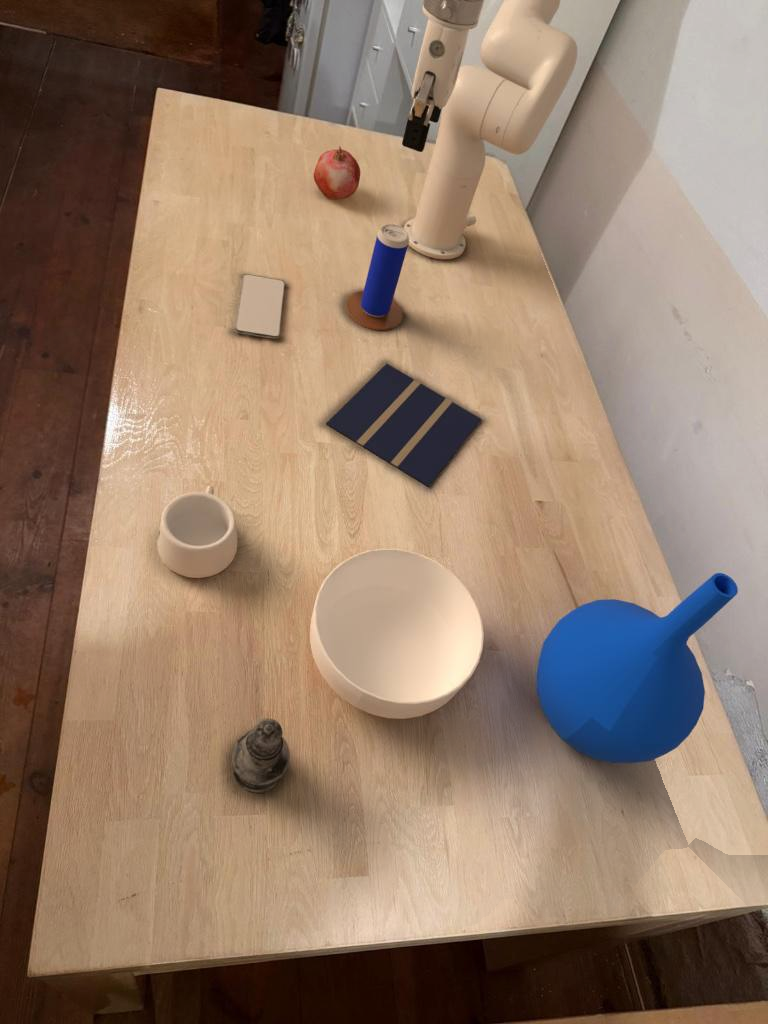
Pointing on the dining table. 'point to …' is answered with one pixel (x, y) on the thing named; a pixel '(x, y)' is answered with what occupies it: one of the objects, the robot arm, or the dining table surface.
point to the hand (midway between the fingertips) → (420, 133)
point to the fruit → (337, 174)
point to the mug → (197, 534)
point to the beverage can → (384, 270)
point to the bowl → (395, 633)
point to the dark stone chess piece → (260, 757)
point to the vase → (627, 675)
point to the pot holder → (405, 424)
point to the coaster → (368, 321)
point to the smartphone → (260, 306)
